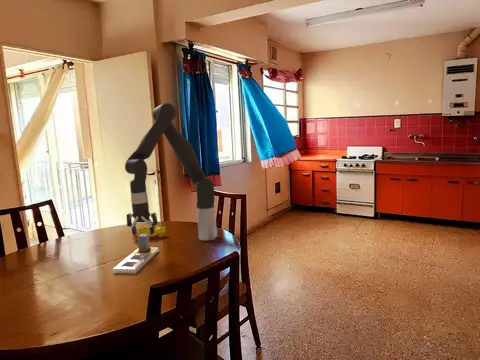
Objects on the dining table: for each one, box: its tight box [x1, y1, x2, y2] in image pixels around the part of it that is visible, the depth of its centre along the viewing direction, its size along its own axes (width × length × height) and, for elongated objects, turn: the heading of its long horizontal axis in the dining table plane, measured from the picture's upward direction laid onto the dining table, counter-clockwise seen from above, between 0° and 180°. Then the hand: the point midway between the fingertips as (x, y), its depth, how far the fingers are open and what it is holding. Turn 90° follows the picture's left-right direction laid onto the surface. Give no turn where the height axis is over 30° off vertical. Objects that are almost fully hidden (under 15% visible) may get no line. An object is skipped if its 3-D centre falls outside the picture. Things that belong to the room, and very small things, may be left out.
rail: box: [112, 246, 159, 275], centre depth 159 cm, size 10×26×2 cm, turn 172°
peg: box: [137, 234, 151, 253], centre depth 167 cm, size 4×4×10 cm
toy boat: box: [132, 222, 166, 242], centre depth 192 cm, size 6×18×10 cm, turn 115°
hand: (143, 234), depth 165 cm, fingers open, 8 cm apart
